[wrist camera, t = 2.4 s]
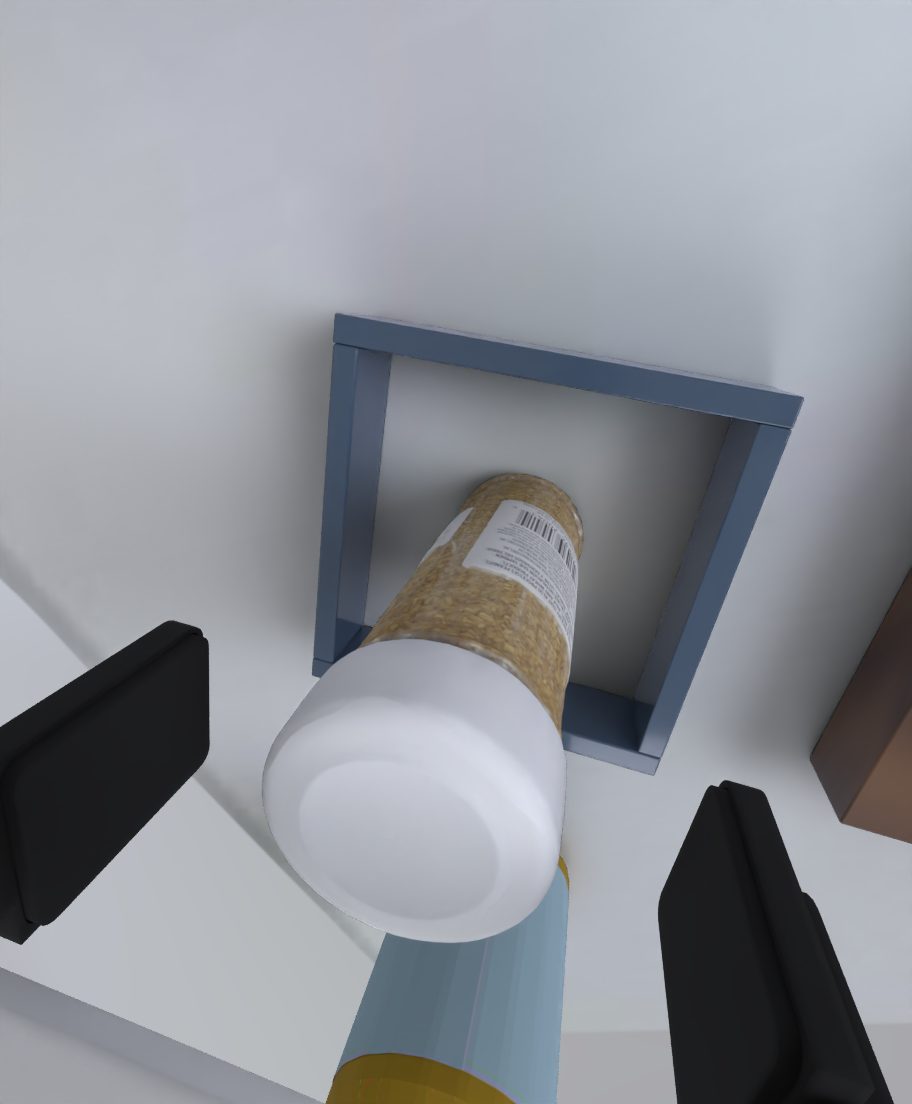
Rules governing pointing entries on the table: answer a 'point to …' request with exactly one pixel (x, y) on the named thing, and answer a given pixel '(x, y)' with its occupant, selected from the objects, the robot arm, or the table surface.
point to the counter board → (874, 733)
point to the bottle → (463, 1017)
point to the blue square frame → (756, 410)
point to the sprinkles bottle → (443, 732)
